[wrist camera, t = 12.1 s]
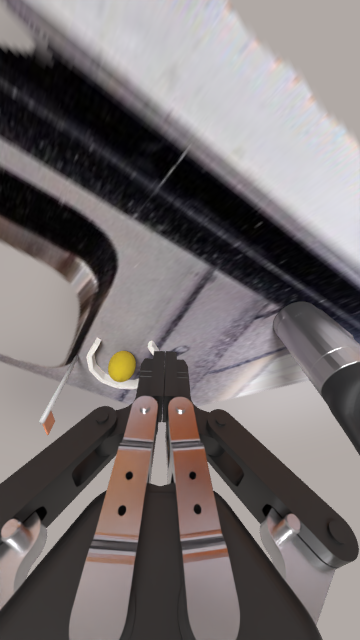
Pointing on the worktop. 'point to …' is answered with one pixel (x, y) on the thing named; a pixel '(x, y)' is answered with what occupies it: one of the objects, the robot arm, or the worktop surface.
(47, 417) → the white arc
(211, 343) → the worktop surface
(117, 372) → the lemon
